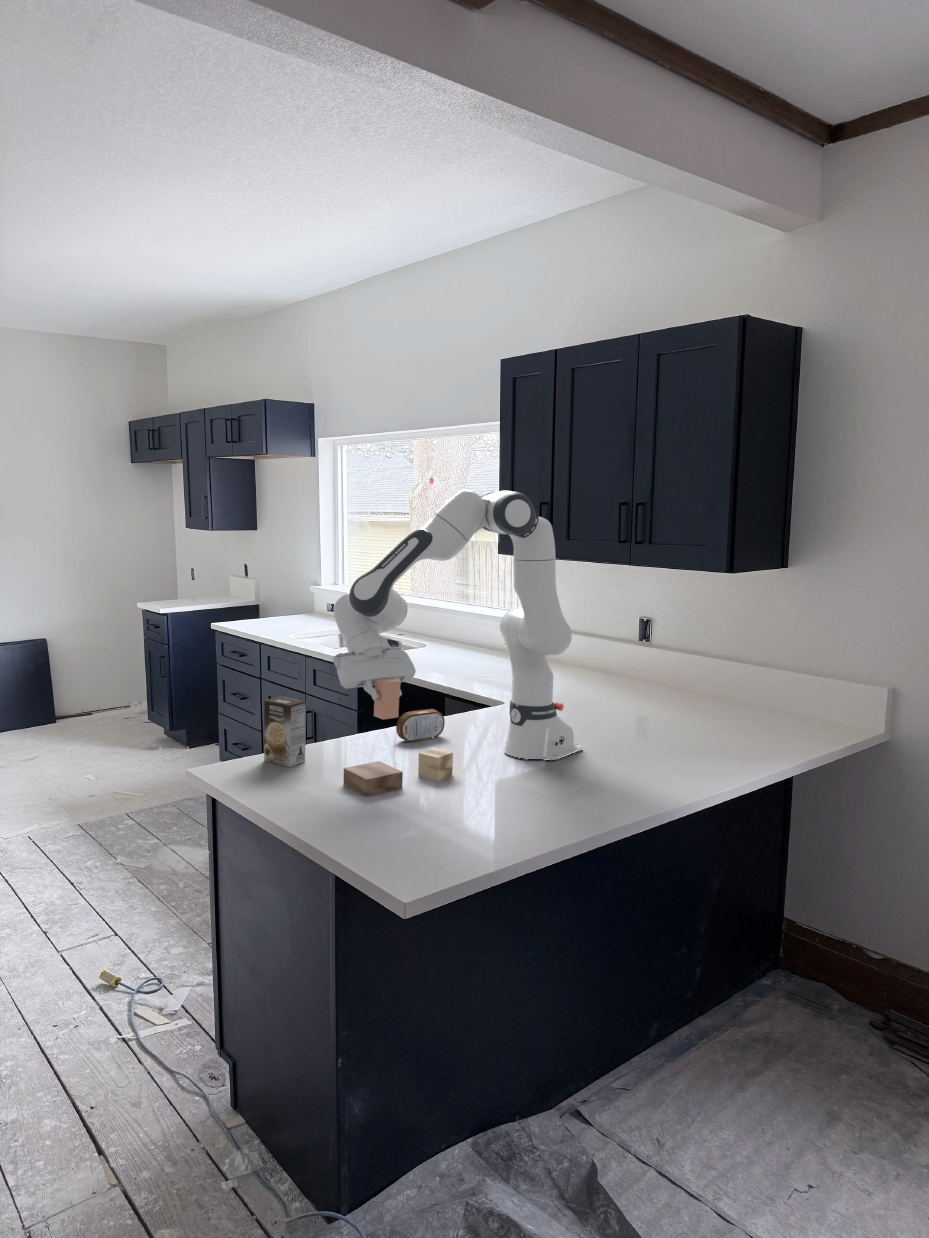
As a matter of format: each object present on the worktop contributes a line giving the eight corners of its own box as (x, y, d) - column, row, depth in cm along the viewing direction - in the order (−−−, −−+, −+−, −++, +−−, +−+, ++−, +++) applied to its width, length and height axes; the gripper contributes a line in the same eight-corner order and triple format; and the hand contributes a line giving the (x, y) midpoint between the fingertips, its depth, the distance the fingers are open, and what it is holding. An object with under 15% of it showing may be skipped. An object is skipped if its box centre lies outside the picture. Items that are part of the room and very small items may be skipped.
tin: (440, 734, 247) (440, 706, 246) (446, 737, 244) (446, 708, 243) (395, 742, 238) (395, 712, 237) (401, 744, 236) (401, 715, 235)
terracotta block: (389, 713, 209) (390, 677, 208) (398, 717, 206) (399, 680, 205) (373, 715, 206) (374, 679, 205) (382, 719, 203) (383, 682, 202)
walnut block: (378, 776, 208) (379, 761, 207) (402, 788, 200) (402, 771, 199) (343, 784, 201) (343, 768, 201) (366, 796, 194) (366, 779, 193)
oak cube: (433, 770, 214) (433, 747, 213) (452, 775, 210) (453, 752, 210) (418, 776, 209) (418, 752, 208) (437, 781, 206) (438, 757, 205)
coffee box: (262, 761, 218) (262, 699, 215) (280, 755, 223) (279, 695, 221) (289, 767, 213) (289, 705, 211) (306, 761, 218) (307, 700, 216)
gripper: (335, 646, 203) (356, 694, 196) (406, 640, 215) (427, 685, 209) (326, 661, 207) (345, 709, 201) (396, 655, 219) (416, 699, 213)
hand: (388, 697), depth 205 cm, fingers closed on terracotta block, 4 cm apart
